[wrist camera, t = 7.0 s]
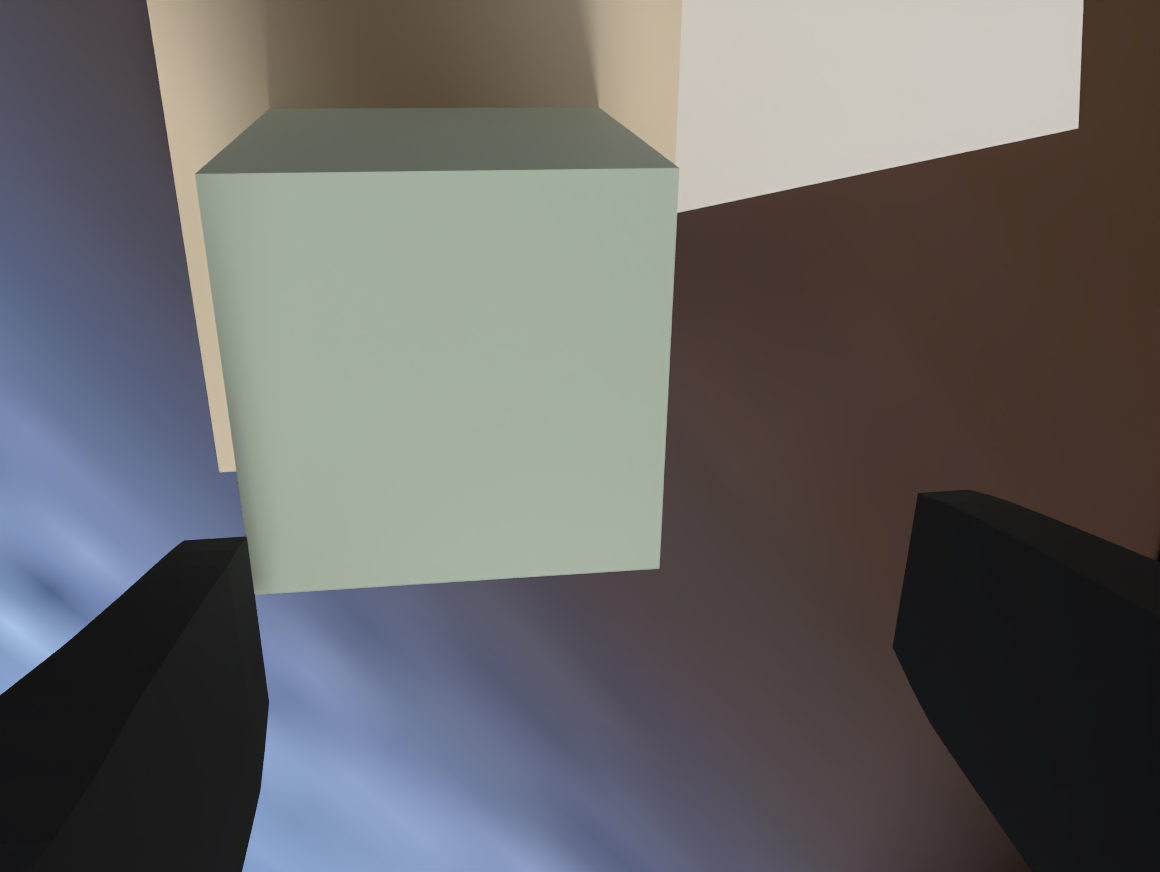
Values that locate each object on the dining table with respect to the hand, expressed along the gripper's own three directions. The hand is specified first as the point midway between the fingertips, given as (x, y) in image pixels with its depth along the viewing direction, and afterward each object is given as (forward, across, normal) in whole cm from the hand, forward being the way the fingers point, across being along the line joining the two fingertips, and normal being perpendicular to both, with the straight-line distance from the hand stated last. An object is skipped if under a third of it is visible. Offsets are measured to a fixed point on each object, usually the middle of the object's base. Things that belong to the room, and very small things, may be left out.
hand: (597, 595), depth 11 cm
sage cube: (+6, +1, -2) cm, 6 cm away
